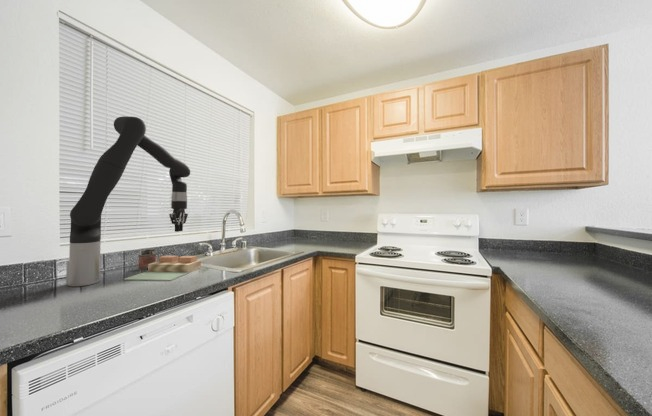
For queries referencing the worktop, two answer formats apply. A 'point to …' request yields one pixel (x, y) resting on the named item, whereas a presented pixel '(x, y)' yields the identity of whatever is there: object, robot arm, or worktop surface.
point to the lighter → (146, 258)
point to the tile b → (187, 259)
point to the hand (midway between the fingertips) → (178, 231)
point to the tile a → (168, 258)
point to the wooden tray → (174, 266)
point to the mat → (157, 276)
